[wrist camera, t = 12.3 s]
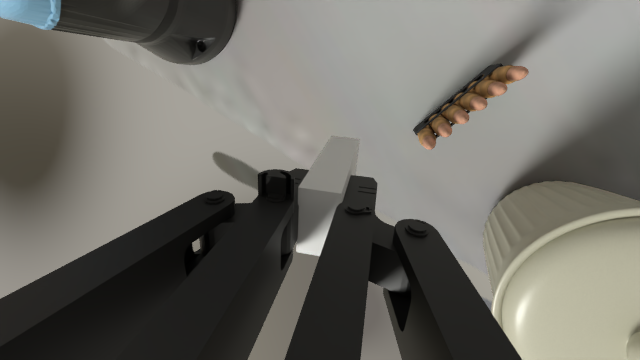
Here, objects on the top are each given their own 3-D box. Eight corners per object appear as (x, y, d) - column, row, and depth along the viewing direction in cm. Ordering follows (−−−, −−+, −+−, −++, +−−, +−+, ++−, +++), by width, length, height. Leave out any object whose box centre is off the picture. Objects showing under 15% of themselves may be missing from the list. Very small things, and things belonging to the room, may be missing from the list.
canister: (561, 317, 40) (709, 536, 20) (433, 249, 42) (455, 388, 22) (675, 203, 33) (1055, 365, 14) (516, 129, 35) (650, 179, 16)
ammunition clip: (422, 140, 38) (428, 161, 27) (412, 129, 38) (415, 145, 27) (500, 77, 34) (546, 72, 23) (490, 65, 34) (530, 53, 23)
